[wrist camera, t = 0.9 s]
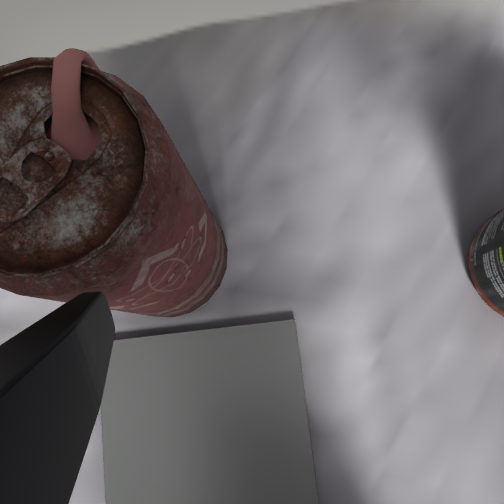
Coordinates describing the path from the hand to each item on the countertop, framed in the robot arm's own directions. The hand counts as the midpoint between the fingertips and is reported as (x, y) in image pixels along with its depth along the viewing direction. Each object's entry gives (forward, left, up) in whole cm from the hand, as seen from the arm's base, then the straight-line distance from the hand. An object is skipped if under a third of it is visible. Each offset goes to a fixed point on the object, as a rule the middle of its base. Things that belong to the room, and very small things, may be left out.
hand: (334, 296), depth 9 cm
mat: (-5, +5, -15) cm, 16 cm away
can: (+4, +6, -15) cm, 17 cm away
